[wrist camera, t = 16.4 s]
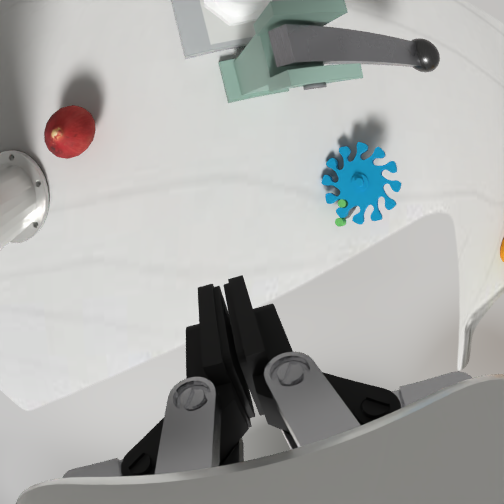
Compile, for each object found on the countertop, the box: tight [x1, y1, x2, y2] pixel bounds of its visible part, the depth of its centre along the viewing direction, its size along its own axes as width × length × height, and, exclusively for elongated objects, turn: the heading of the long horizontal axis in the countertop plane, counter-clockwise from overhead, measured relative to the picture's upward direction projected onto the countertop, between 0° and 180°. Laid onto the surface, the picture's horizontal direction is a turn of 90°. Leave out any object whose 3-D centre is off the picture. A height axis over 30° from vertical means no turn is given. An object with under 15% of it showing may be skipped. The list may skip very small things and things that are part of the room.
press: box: [171, 0, 363, 103], centre depth 20 cm, size 14×16×20 cm
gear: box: [322, 142, 401, 226], centre depth 37 cm, size 11×6×10 cm
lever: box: [268, 24, 440, 72], centre depth 18 cm, size 20×4×4 cm, turn 103°
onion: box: [44, 105, 95, 159], centre depth 27 cm, size 6×6×8 cm
